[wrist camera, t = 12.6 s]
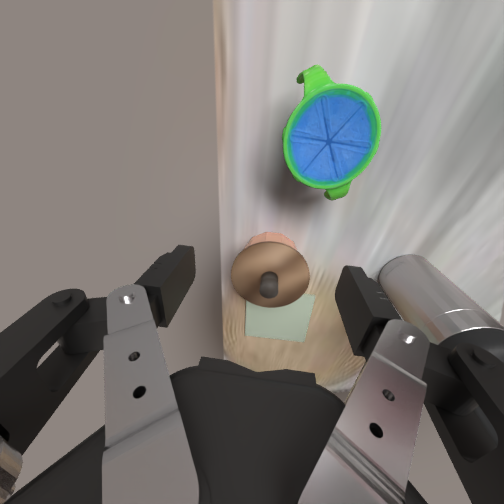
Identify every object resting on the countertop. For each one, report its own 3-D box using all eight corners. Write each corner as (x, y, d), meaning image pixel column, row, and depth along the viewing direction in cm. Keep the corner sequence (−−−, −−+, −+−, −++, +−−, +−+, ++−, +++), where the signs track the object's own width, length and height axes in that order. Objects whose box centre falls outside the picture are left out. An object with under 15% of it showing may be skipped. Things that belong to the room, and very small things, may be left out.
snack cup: (271, 90, 30) (268, 73, 22) (350, 62, 28) (382, 30, 19) (291, 197, 37) (295, 217, 29) (355, 181, 35) (381, 198, 26)
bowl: (309, 253, 42) (314, 271, 37) (275, 287, 47) (275, 308, 42) (264, 221, 40) (262, 236, 35) (234, 260, 45) (227, 279, 40)
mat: (303, 340, 55) (304, 342, 54) (245, 333, 56) (244, 335, 55) (314, 294, 47) (315, 296, 47) (247, 287, 48) (246, 289, 48)
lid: (326, 270, 36) (331, 286, 33) (276, 315, 43) (276, 333, 39) (260, 225, 34) (258, 237, 30) (218, 280, 40) (212, 295, 36)
